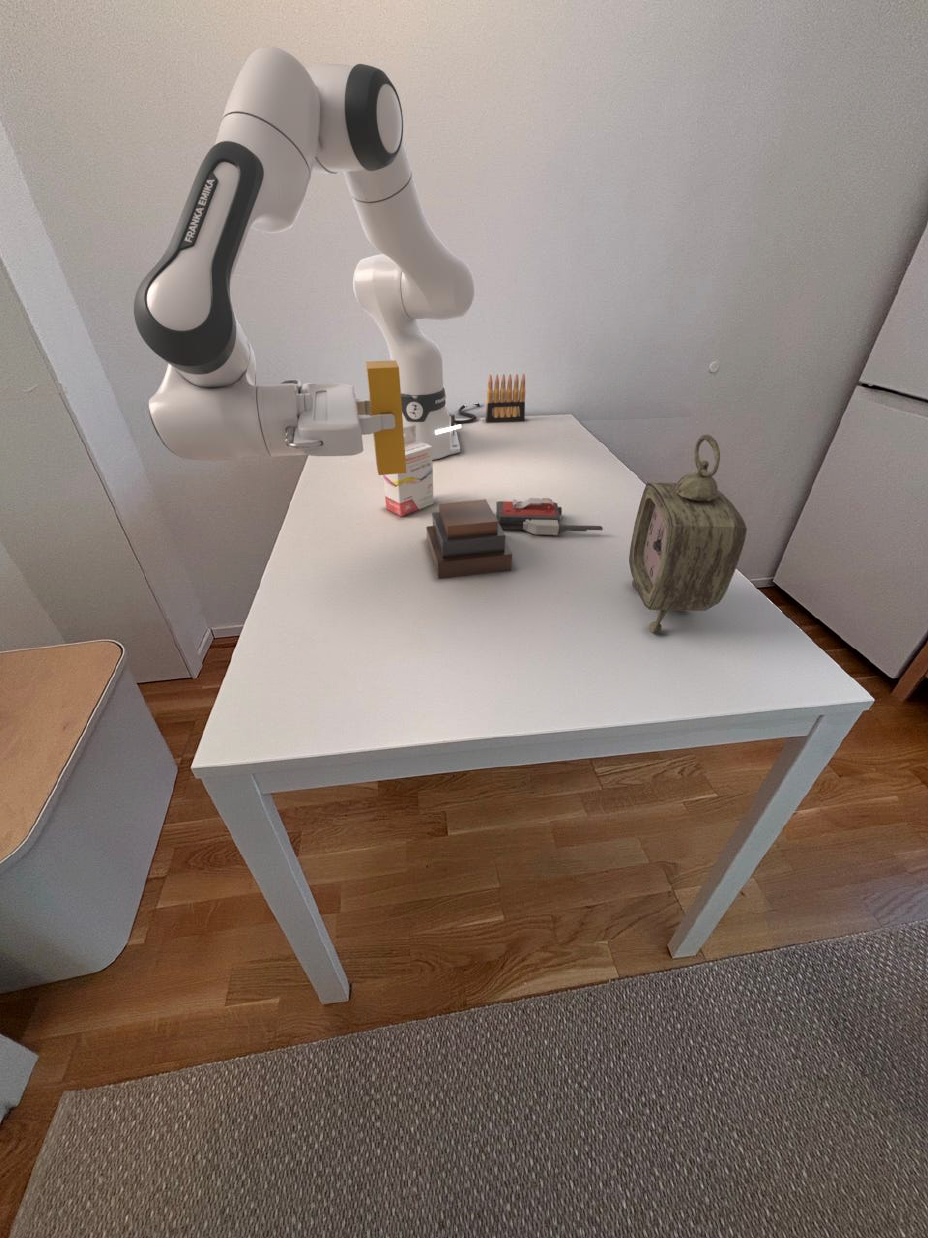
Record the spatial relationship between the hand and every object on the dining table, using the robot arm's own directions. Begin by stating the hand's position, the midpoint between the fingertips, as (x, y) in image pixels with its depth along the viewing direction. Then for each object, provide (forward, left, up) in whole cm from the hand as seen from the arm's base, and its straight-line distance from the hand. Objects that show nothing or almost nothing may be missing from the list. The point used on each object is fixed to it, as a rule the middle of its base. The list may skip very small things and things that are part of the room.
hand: (392, 413), depth 71 cm
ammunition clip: (-75, +13, -24) cm, 80 cm away
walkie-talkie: (-15, +23, -24) cm, 37 cm away
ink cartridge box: (-20, -3, -24) cm, 32 cm away
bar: (0, -1, -8) cm, 8 cm away
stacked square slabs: (-3, +10, -24) cm, 26 cm away
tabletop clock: (+9, +40, -24) cm, 47 cm away
